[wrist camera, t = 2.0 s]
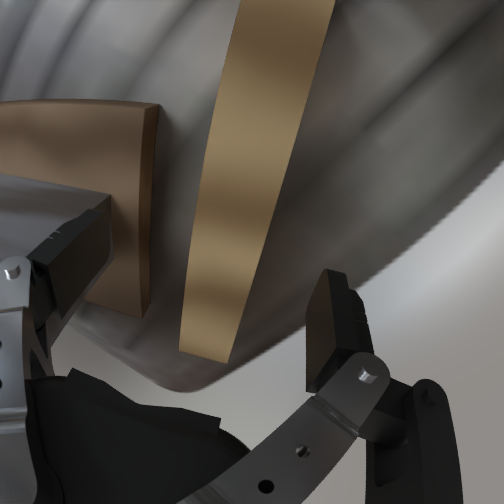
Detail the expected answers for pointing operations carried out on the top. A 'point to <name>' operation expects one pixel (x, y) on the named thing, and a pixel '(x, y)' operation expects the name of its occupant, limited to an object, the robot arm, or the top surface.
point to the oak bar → (247, 162)
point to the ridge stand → (81, 187)
